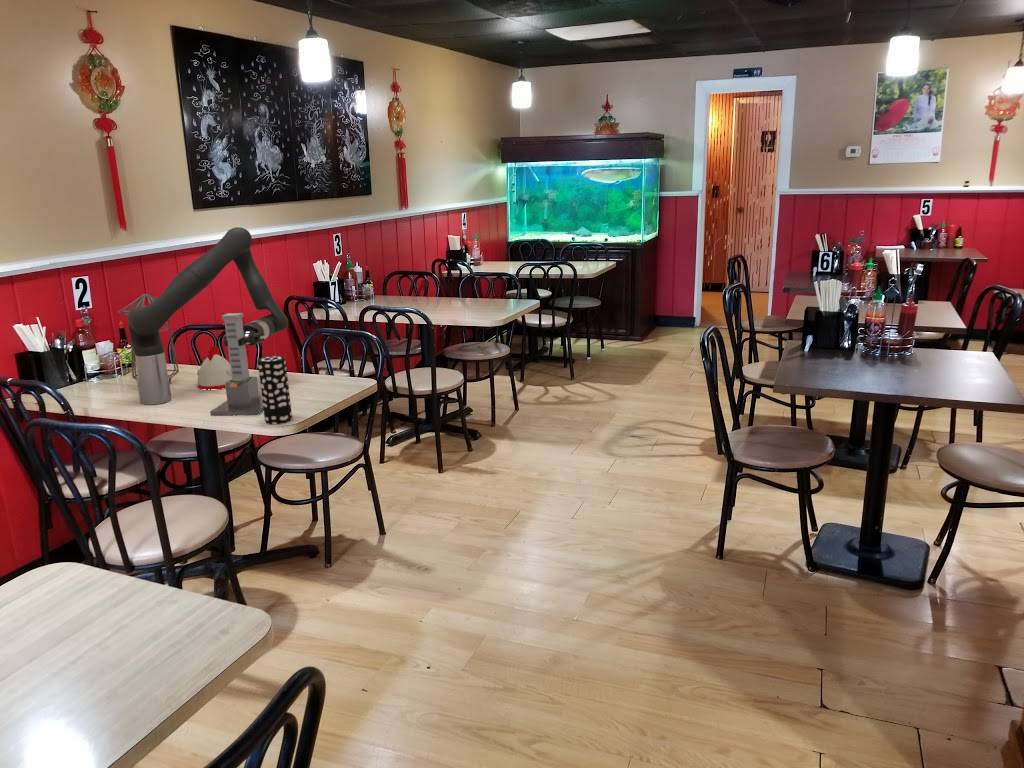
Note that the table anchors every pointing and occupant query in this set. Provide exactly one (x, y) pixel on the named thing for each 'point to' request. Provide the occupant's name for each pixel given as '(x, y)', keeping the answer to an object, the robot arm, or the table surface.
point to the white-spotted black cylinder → (274, 389)
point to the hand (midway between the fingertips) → (232, 343)
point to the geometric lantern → (150, 299)
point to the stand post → (236, 347)
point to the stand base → (240, 399)
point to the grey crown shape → (214, 371)
